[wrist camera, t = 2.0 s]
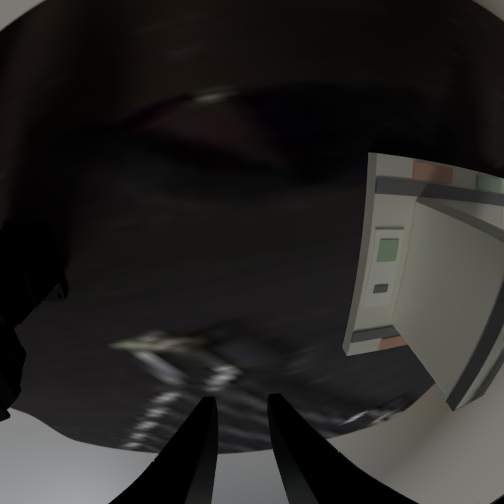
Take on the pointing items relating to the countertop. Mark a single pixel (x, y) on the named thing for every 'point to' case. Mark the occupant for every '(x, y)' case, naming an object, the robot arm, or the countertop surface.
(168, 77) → the countertop surface
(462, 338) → the switch slider
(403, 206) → the switch panel
